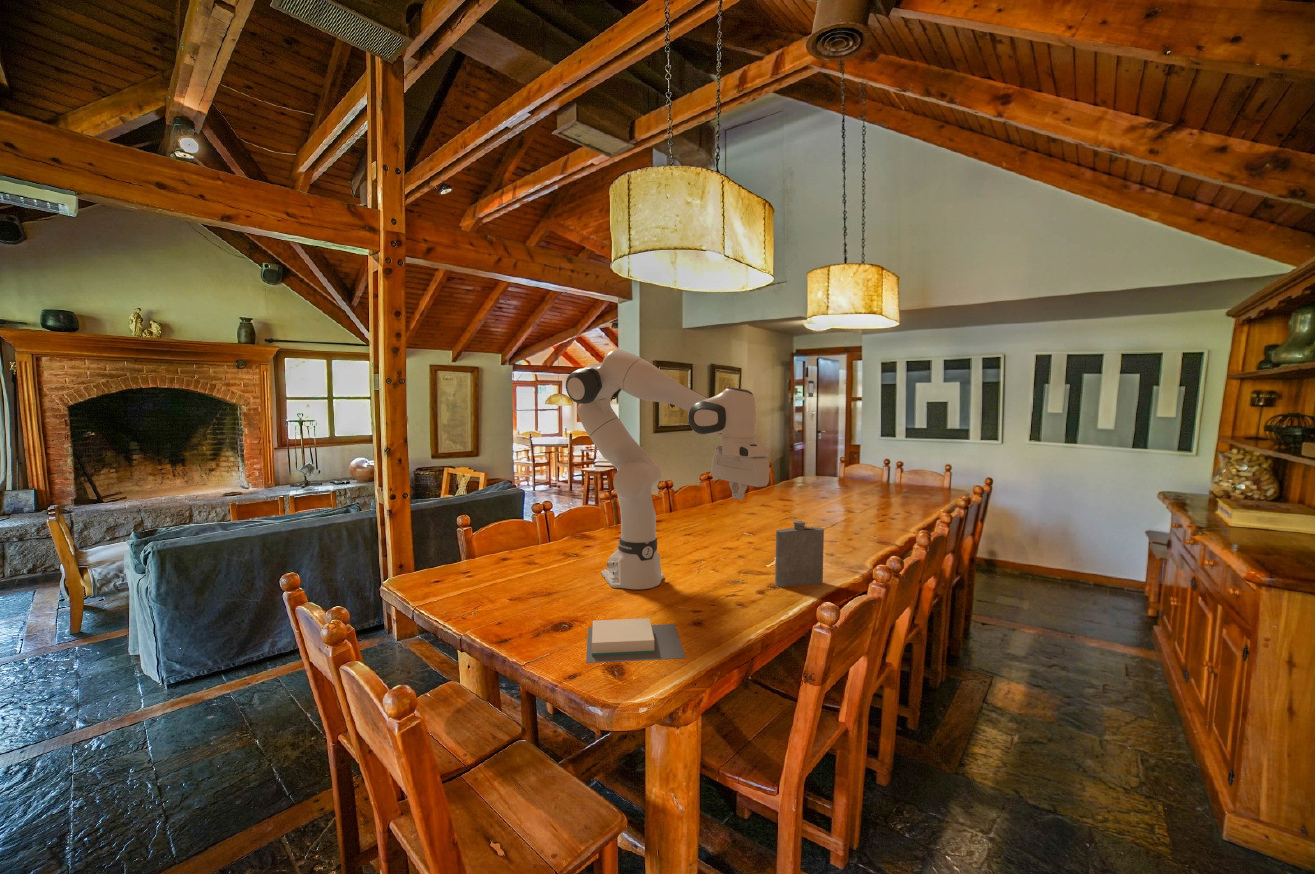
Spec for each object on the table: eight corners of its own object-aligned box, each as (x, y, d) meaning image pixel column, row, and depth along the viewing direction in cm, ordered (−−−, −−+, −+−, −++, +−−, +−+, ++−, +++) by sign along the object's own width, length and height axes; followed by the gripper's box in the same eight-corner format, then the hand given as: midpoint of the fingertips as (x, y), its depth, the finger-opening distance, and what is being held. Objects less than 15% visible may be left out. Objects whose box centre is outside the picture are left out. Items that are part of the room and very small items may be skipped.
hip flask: (777, 587, 160) (778, 524, 158) (772, 583, 164) (773, 521, 162) (824, 584, 163) (826, 521, 162) (818, 580, 167) (819, 519, 166)
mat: (674, 625, 132) (674, 623, 132) (685, 659, 114) (686, 658, 114) (588, 629, 130) (588, 627, 130) (585, 664, 112) (585, 663, 112)
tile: (649, 618, 128) (592, 620, 127) (654, 640, 116) (591, 642, 115) (649, 630, 128) (592, 632, 127) (654, 653, 116) (591, 656, 115)
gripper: (706, 445, 146) (705, 494, 147) (755, 451, 128) (754, 506, 129) (723, 445, 149) (723, 492, 150) (773, 450, 132) (772, 503, 132)
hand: (738, 498), depth 139 cm, fingers closed
